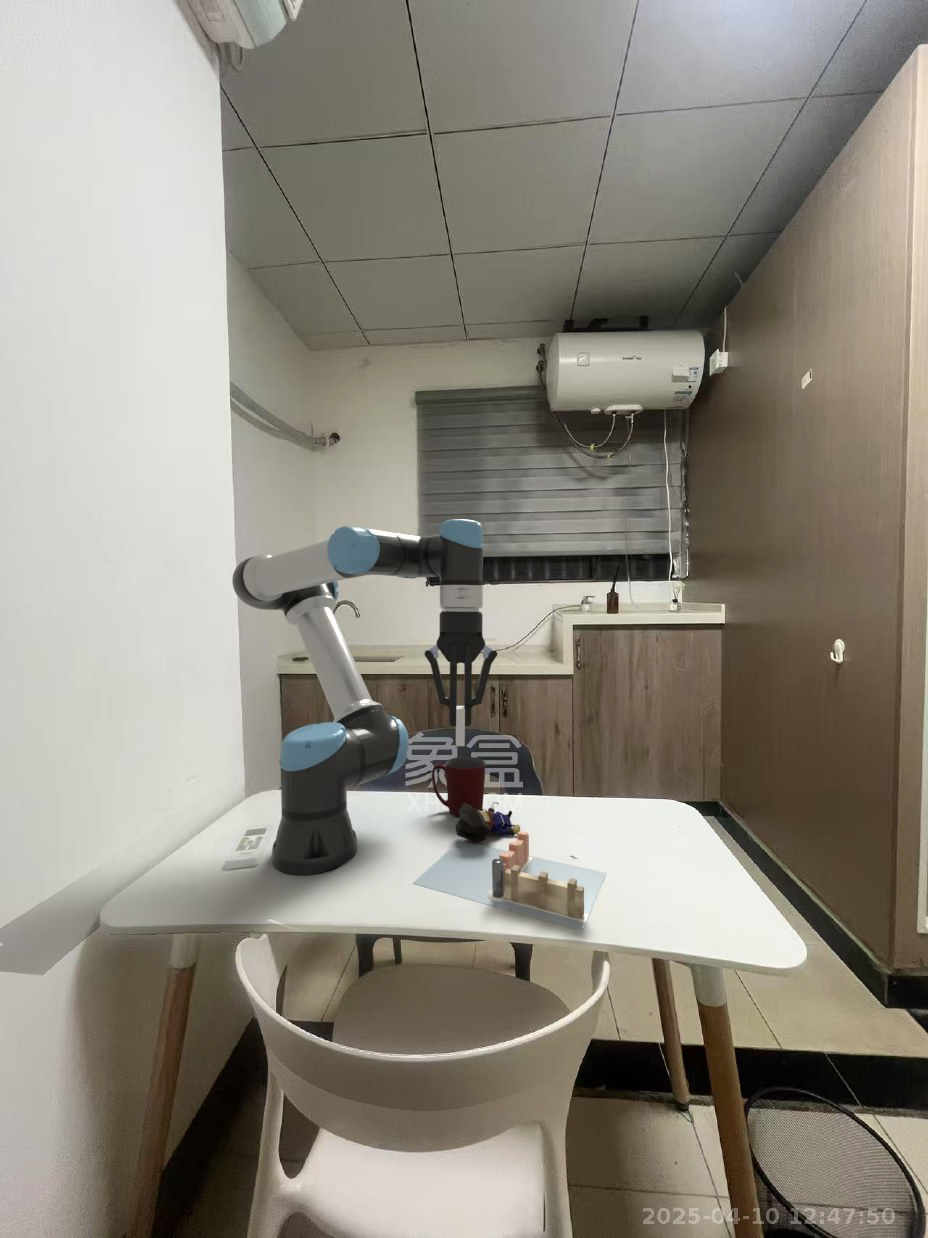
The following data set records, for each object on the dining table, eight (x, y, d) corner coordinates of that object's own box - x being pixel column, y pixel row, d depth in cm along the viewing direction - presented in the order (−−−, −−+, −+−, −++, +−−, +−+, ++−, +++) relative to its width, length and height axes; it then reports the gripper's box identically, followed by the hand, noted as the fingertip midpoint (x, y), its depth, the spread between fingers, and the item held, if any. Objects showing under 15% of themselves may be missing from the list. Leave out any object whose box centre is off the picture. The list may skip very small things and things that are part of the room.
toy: (531, 824, 101) (479, 823, 92) (517, 852, 102) (464, 854, 92) (503, 797, 108) (452, 793, 99) (490, 823, 109) (438, 822, 99)
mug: (428, 818, 109) (427, 767, 109) (436, 802, 118) (435, 755, 118) (483, 820, 107) (483, 769, 107) (487, 804, 116) (486, 757, 116)
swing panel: (505, 890, 80) (505, 860, 80) (497, 888, 81) (496, 858, 80) (529, 856, 91) (529, 830, 91) (521, 854, 91) (521, 828, 91)
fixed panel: (504, 898, 78) (504, 867, 78) (508, 893, 79) (507, 863, 79) (581, 919, 72) (581, 886, 72) (584, 913, 74) (584, 881, 73)
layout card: (412, 885, 83) (412, 883, 83) (459, 841, 98) (459, 840, 98) (582, 933, 70) (582, 930, 70) (606, 874, 85) (606, 872, 85)
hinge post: (490, 898, 79) (490, 863, 78) (495, 892, 80) (494, 857, 80) (501, 901, 78) (500, 865, 78) (505, 895, 79) (505, 860, 79)
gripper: (422, 610, 84) (422, 750, 84) (500, 610, 84) (499, 750, 85) (424, 609, 91) (423, 738, 92) (496, 610, 92) (494, 738, 92)
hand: (460, 743), depth 88 cm, fingers closed
